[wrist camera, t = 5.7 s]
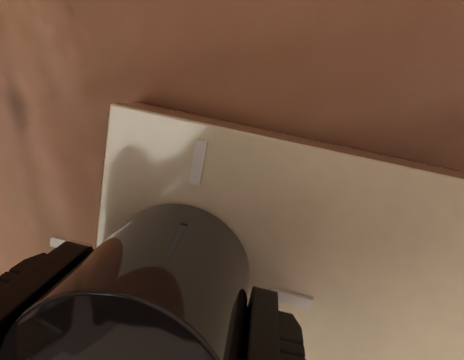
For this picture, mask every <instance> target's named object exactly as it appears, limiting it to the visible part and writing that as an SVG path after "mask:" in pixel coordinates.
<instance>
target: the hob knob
mask: <svg viewBox="0 0 464 360" xmlns="http://www.w3.org/2000/svg"><path fill="white" fill-rule="evenodd" d="M249 287H250V266H249V261H248V257H247V254H246V252H245V249H244V247H243V245H242V244H241V242H240V240H239V238H238V237H237V236H236V235H235V233H234V232H233V231H232V230H231V229H230V228H229V227H228V226H227V225H226V224H225V223H224V222H223V221H221V220H220V219H219V218H217V217H216V216H214V215H212V214H211V213H209V212H207V211H204V210H202V209H200V208H196V207H193V206H189V205H183V204H162V205H157V206H153V207H150V208H147V209H144V210H142V211H140V212H139V213H137V214H135V215H134V216H132V217H131V218H130V219H128V220H127V221H126V222H125V223H124V224H123V225H122V226H120V227H119V228H118V229H117V230H116V231H115V232H114V233H112V234H111V235H110V236H109V237H108V238H107V239H106V240H104V241H103V242H102V243H101V244H100V245H99V246H98V247H97V248H95V249H94V250H93V251H92V252H91V253H90V254H89V255H87V256H86V257H85V258H84V259H83V260H82V261H81V262H79V263H78V264H77V265H76V266H75V267H74V268H73V269H72V270H70V271H69V272H68V273H67V274H66V275H65V276H64V277H62V278H61V279H60V280H59V281H58V282H57V283H56V284H54V285H53V286H52V287H51V288H50V289H49V290H48V291H47V292H45V293H44V294H43V295H42V296H41V297H40V298H39V299H37V300H36V301H35V302H34V303H33V304H32V305H31V306H29V307H28V308H27V309H26V310H25V311H24V312H23V313H22V314H21V315H20V316H19V317H18V318H17V319H16V320H15V321H14V322H13V324H12V325H11V327H10V328H9V330H8V331H7V333H6V335H5V338H4V340H3V342H2V344H1V347H0V360H242V353H243V344H244V334H245V325H246V315H247V306H248V296H249Z"/></svg>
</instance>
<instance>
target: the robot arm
mask: <svg viewBox="0 0 464 360" xmlns="http://www.w3.org/2000/svg"><path fill="white" fill-rule="evenodd" d="M92 251H93V248H92V247H90V246H86V245H82V244H78V243H74V242H70V241H66V242H64V243H62V244H61V245H59V246H58V247H57V248H55V249H54V250H52V251H51V252H50V253H48V254H46V253H42V254H39V255H36V256H33V257H30V258H28V259H25V260H23V261H22V262H20V263H19V264H17V265H16V266H14V267H13V268H11V269H10V270H9V272H5V273H4V274H2V275H1V276H0V347H1V344H2V342H3V340H4V338H5V335H6V333H7V331H8V330H9V328H10V327H11V325H12V324H13V322H14V321H15V320H16V319H17V318H18V317H19V316H20V315H21V314H22V313H23V312H24V311H25V310H26V309H27V308H28V307H29V306H31V305H32V304H33V303H34V302H35V301H36V300H37V299H39V298H40V297H41V296H42V295H43V294H44V293H45V292H47V291H48V290H49V289H50V288H51V287H52V286H53V285H54V284H56V283H57V282H58V281H59V280H60V279H61V278H62V277H64V276H65V275H66V274H67V273H68V272H69V271H70V270H72V269H73V268H74V267H75V266H76V265H77V264H78V263H79V262H81V261H82V260H83V259H84V258H85V257H86V256H87V255H89V254H90V253H91V252H92ZM303 343H304V342H303V334H302V328H301V326H300V325H299V323H298V321H297V320H296V318H295V317H294V315H293V314H291V313H287V312H283V311H279V310H278V292H276V291H272V290H268V289H264V288H260V287H255V286H253V287H252V290H251V294H250V298H249V302H248V306H247V315H246V325H245V334H244V344H243V353H242V360H306V359H305V349H304V346H303Z"/></svg>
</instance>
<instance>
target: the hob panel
mask: <svg viewBox="0 0 464 360" xmlns="http://www.w3.org/2000/svg"><path fill="white" fill-rule="evenodd" d="M162 204H183V205H189V206H193V207H196V208H200V209H202V210H204V211H207V212H209V213H211V214H212V215H214V216H216V217H217V218H219V219H220V220H221V221H223V222H224V223H225V224H226V225H227V226H228V227H229V228H230V229H231V230H232V231H233V232H234V233H235V235H236V236H237V237H238V238H239V240H240V242H241V244H242V245H243V247H244V249H245V252H246V254H247V257H248V261H249V266H250V287H249V296H248V302H249V298H250V294H251V290H252V287H253V286H255V287H260V288H264V289H268V290H272V291H276V292H278V310H279V311H283V312H287V313H291V314H293V315H294V317H295V318H296V320H297V321H298V323H299V325H300V326H301V328H302V334H303V342H304V343H303V346H304V349H305V359H306V360H464V172H461V171H456V170H451V169H447V168H442V167H437V166H433V165H428V164H423V163H419V162H414V161H409V160H405V159H400V158H395V157H391V156H386V155H381V154H377V153H372V152H367V151H363V150H358V149H353V148H349V147H344V146H339V145H335V144H330V143H325V142H321V141H316V140H311V139H307V138H302V137H297V136H293V135H288V134H283V133H279V132H274V131H269V130H265V129H260V128H255V127H251V126H246V125H241V124H237V123H232V122H227V121H223V120H218V119H213V118H209V117H204V116H199V115H195V114H190V113H185V112H181V111H176V110H171V109H167V108H162V107H157V106H153V105H148V104H143V103H139V102H125V103H111V104H110V111H109V121H108V131H107V140H106V150H105V160H104V170H103V179H102V189H101V199H100V209H99V218H98V228H97V238H96V248H97V247H98V246H99V245H100V244H101V243H102V242H103V241H104V240H106V239H107V238H108V237H109V236H110V235H111V234H112V233H114V232H115V231H116V230H117V229H118V228H119V227H120V226H122V225H123V224H124V223H125V222H126V221H127V220H128V219H130V218H131V217H132V216H134V215H135V214H137V213H139V212H140V211H142V210H144V209H147V208H150V207H153V206H157V205H162ZM66 241H70V242H74V243H78V244H82V245H86V246H90V247H92V245H91V244H87V243H83V242H78V241H74V240H70V239H66V238H62V237H58V236H52V237H50V247H54V248H57V247H58V246H59V245H61V244H62V243H64V242H66Z"/></svg>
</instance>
